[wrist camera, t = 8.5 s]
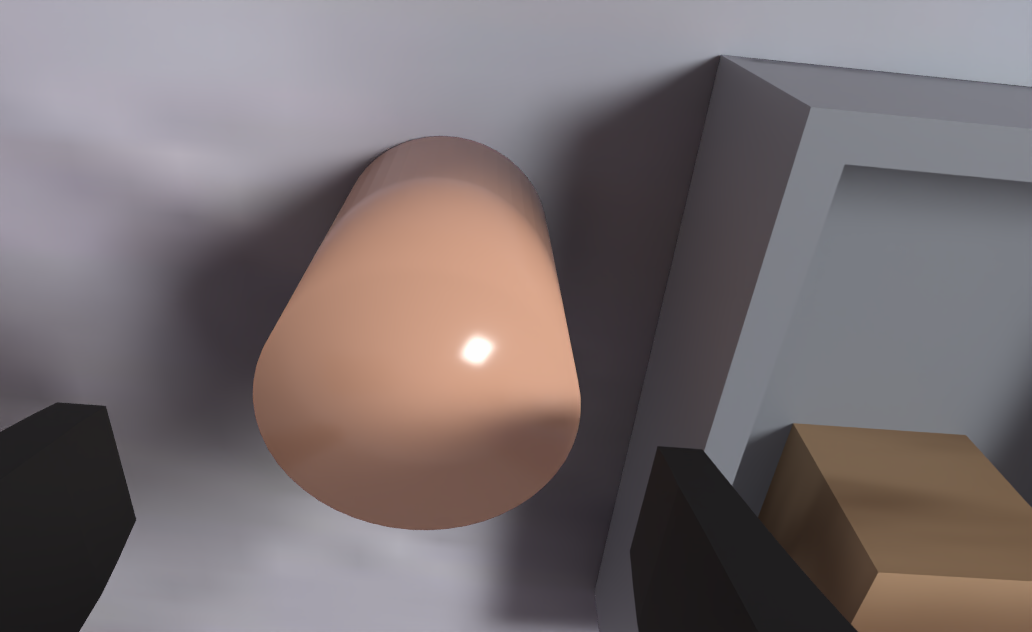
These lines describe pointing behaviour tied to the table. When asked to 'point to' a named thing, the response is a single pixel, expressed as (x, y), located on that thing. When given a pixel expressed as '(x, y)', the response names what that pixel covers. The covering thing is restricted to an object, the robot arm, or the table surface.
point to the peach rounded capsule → (425, 346)
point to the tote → (839, 280)
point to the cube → (904, 529)
